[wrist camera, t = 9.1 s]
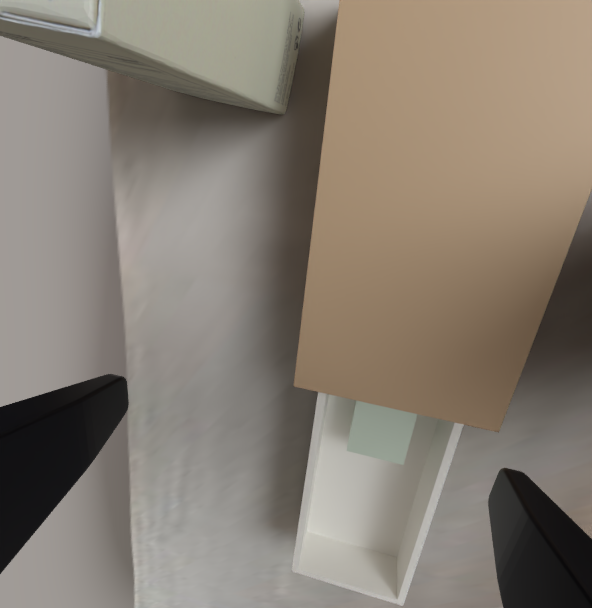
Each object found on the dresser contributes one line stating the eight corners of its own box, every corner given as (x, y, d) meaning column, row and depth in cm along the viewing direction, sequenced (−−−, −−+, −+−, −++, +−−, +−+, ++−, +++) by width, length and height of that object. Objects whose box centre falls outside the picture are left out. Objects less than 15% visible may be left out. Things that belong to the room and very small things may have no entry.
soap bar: (422, 365, 20) (425, 384, 18) (402, 441, 21) (403, 465, 20) (364, 353, 20) (362, 371, 18) (349, 429, 22) (346, 450, 20)
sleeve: (598, 13, 14) (681, -47, 10) (477, 378, 20) (498, 432, 16) (357, 3, 16) (345, -52, 12) (311, 344, 22) (293, 386, 18)
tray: (467, 343, 19) (480, 374, 16) (401, 557, 25) (402, 606, 22) (334, 318, 20) (325, 343, 17) (301, 528, 26) (291, 571, 23)
